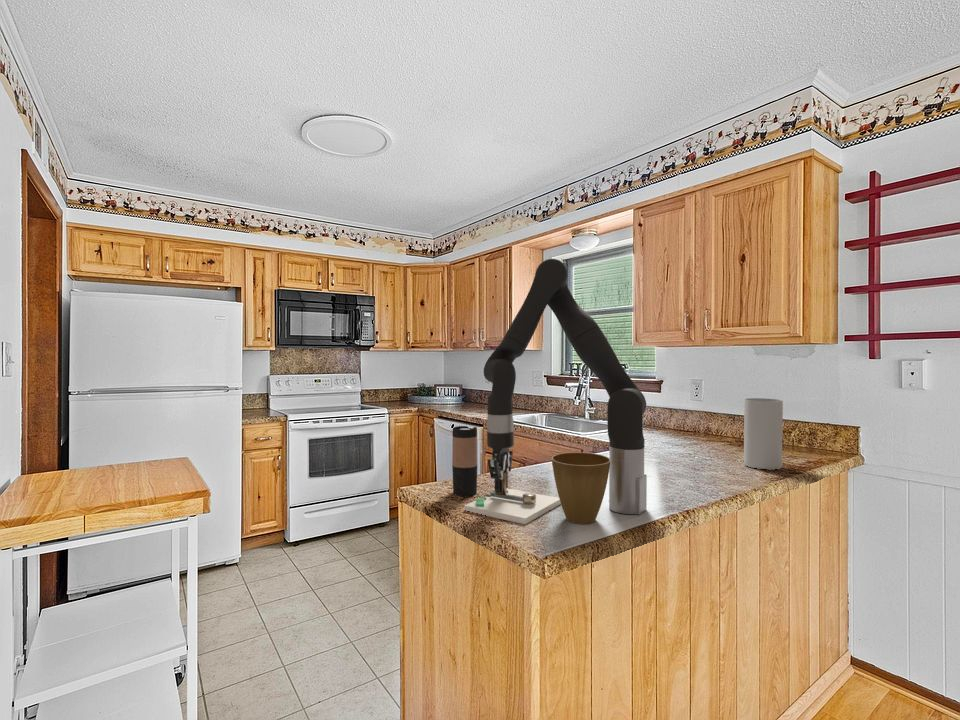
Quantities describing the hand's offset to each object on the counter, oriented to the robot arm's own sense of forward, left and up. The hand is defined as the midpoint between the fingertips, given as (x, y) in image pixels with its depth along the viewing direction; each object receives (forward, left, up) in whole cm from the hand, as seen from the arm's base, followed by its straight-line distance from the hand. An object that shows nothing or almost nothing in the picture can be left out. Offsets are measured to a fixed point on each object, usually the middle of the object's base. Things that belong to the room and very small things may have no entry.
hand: (501, 489), depth 146 cm
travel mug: (+15, -3, -4) cm, 16 cm away
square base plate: (-4, 0, -4) cm, 6 cm away
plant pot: (-24, 0, -4) cm, 24 cm away
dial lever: (-4, 0, -2) cm, 4 cm away
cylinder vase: (-56, -94, -4) cm, 110 cm away
